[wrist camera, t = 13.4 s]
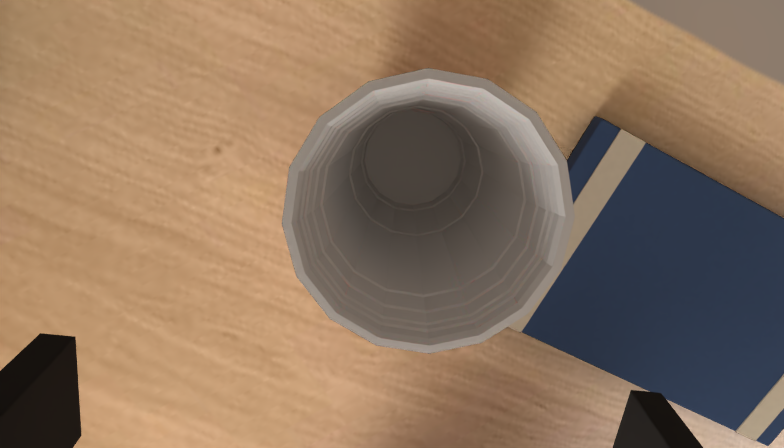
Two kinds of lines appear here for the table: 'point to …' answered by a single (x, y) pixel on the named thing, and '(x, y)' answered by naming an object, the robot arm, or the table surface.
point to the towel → (670, 284)
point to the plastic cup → (428, 211)
